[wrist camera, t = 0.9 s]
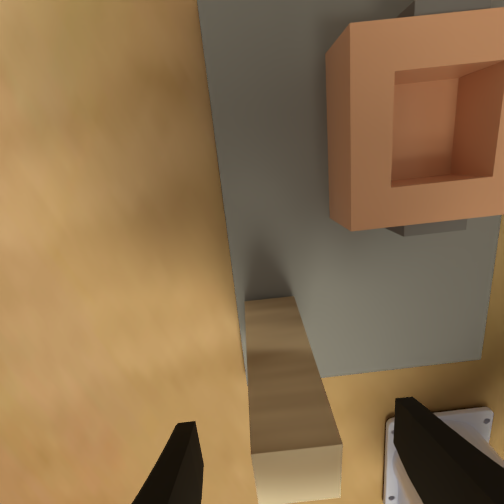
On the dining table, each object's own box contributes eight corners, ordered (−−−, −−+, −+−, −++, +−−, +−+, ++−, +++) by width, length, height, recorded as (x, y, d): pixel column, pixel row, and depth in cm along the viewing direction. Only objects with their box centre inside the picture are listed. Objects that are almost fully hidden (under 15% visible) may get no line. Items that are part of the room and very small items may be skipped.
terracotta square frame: (470, 213, 17) (523, 224, 14) (330, 228, 17) (351, 243, 14) (491, 22, 15) (564, -18, 11) (324, 39, 14) (349, 4, 11)
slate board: (469, 350, 21) (481, 359, 20) (247, 376, 21) (247, 386, 20) (518, -27, 15) (537, -40, 14) (199, 5, 15) (196, -5, 14)
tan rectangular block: (295, 335, 19) (340, 497, 11) (249, 340, 19) (259, 506, 11) (294, 296, 18) (342, 444, 10) (244, 301, 18) (250, 454, 10)
